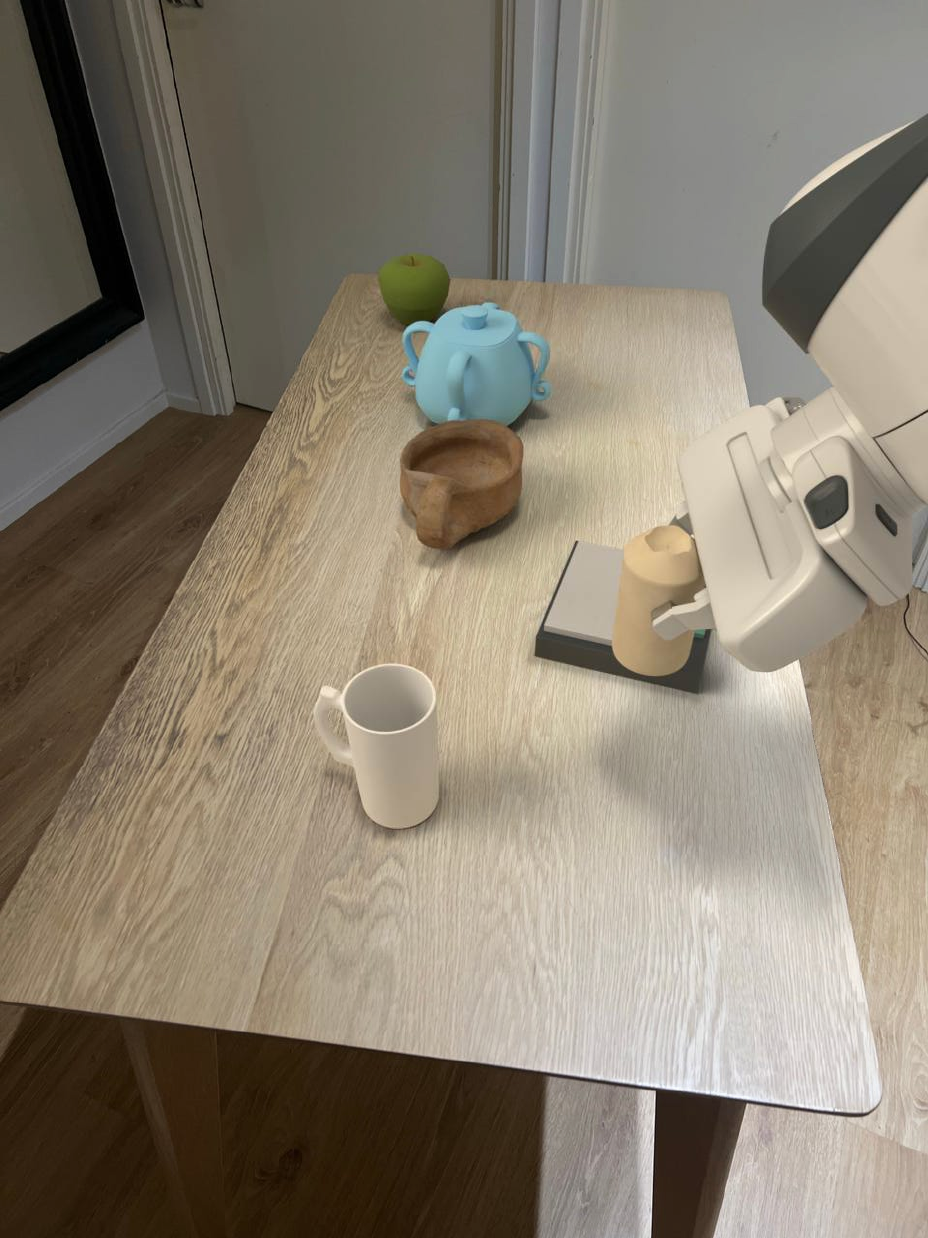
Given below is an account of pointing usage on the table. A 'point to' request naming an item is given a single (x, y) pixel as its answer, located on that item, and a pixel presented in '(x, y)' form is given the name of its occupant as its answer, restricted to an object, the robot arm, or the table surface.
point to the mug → (387, 741)
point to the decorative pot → (475, 366)
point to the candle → (655, 599)
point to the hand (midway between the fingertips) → (651, 593)
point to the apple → (414, 287)
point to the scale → (601, 620)
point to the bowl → (460, 478)
